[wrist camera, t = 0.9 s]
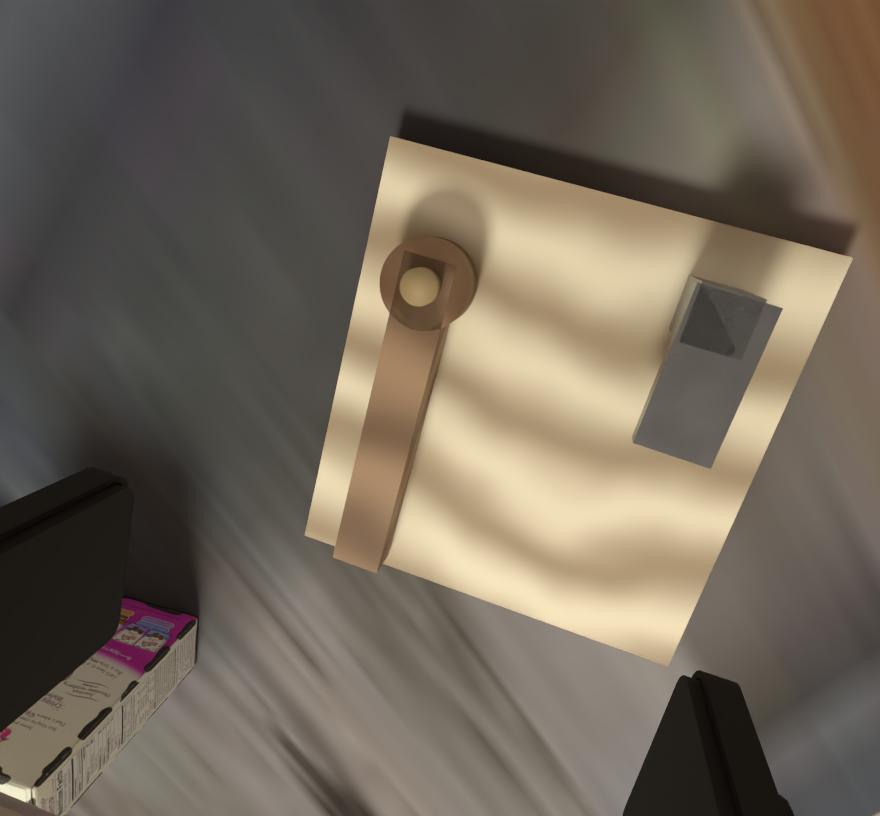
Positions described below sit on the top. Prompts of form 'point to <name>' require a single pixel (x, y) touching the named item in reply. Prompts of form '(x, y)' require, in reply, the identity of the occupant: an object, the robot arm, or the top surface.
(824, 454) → the top surface
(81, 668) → the candy bar box
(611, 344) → the birch board
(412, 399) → the walnut link
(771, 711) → the top surface
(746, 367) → the block
